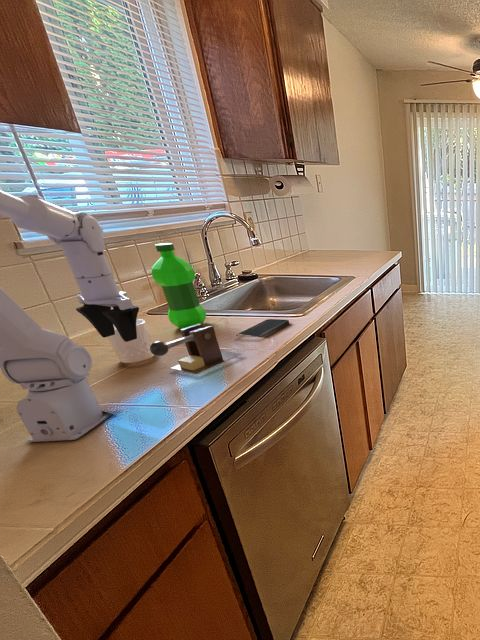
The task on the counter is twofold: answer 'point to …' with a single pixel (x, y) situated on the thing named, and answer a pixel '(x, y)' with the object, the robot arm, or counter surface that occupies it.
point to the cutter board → (205, 348)
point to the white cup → (133, 344)
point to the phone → (265, 328)
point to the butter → (191, 362)
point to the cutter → (169, 344)
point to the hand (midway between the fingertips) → (119, 338)
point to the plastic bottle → (178, 287)
